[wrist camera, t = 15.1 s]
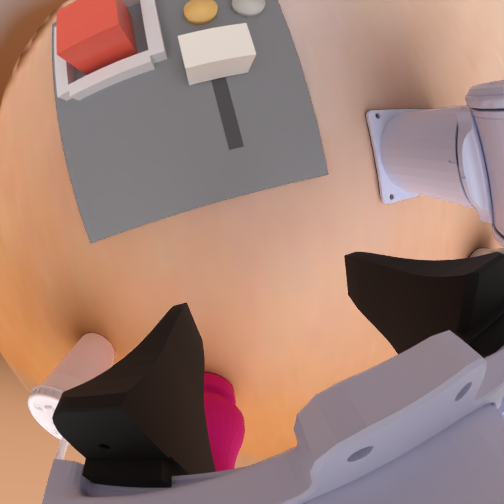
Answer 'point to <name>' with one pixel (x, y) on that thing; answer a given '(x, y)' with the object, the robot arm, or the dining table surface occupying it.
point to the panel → (184, 119)
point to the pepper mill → (222, 421)
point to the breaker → (217, 52)
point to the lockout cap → (94, 34)
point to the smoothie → (70, 380)
